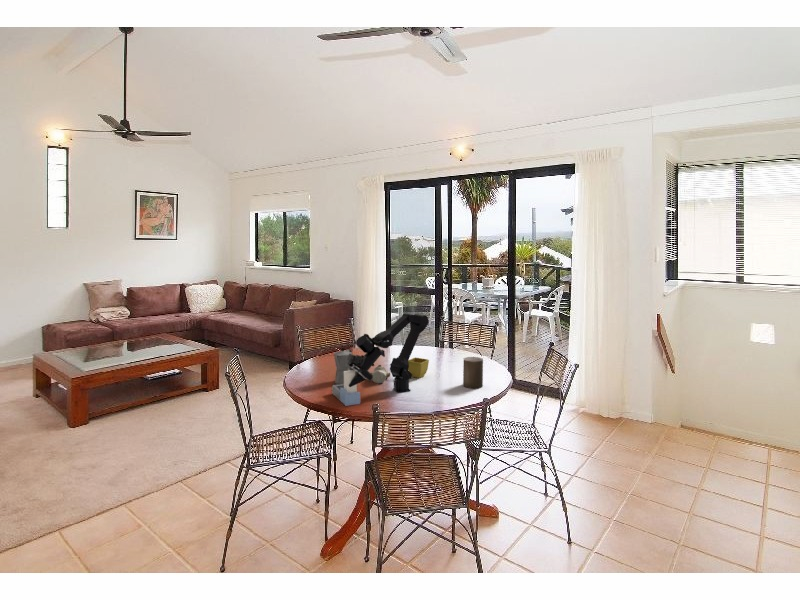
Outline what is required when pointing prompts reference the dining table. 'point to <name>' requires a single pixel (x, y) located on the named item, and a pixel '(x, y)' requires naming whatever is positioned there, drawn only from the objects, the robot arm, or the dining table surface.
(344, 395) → the light blue notched block
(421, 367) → the flower pot
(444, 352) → the dining table surface
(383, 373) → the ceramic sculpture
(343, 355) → the coffeepot
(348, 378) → the plug post
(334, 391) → the blue open box
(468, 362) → the pillar candle
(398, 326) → the robot arm
